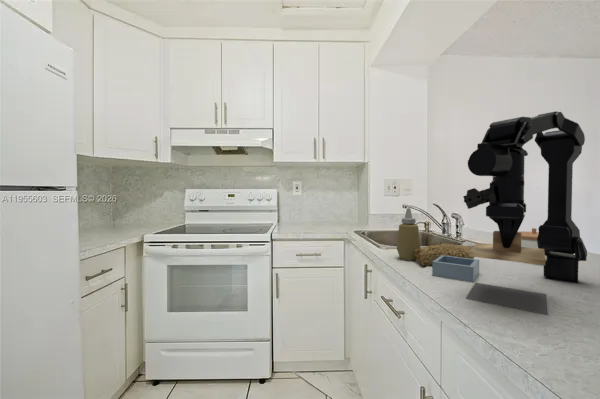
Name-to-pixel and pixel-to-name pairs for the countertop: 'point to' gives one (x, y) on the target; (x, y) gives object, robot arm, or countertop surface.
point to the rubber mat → (509, 298)
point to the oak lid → (508, 251)
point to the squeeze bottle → (408, 237)
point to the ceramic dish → (456, 268)
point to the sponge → (441, 252)
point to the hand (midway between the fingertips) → (507, 246)
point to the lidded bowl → (530, 239)
